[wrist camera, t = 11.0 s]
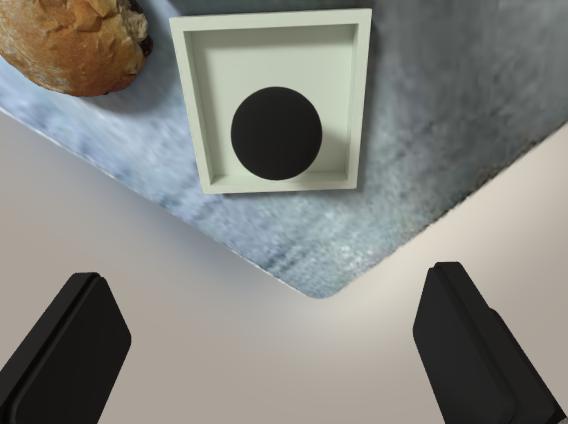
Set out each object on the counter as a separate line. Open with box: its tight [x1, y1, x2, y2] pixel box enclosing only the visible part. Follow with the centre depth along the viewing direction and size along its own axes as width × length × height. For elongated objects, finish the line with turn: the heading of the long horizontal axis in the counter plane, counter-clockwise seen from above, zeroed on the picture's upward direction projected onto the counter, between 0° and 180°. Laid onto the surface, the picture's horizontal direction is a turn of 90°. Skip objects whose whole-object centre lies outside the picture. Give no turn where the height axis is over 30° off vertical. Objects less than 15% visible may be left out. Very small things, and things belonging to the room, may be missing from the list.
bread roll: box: [0, 0, 153, 97], centre depth 23 cm, size 10×10×8 cm
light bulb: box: [231, 86, 322, 181], centre depth 23 cm, size 6×6×10 cm
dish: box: [169, 8, 372, 194], centre depth 27 cm, size 14×14×2 cm
